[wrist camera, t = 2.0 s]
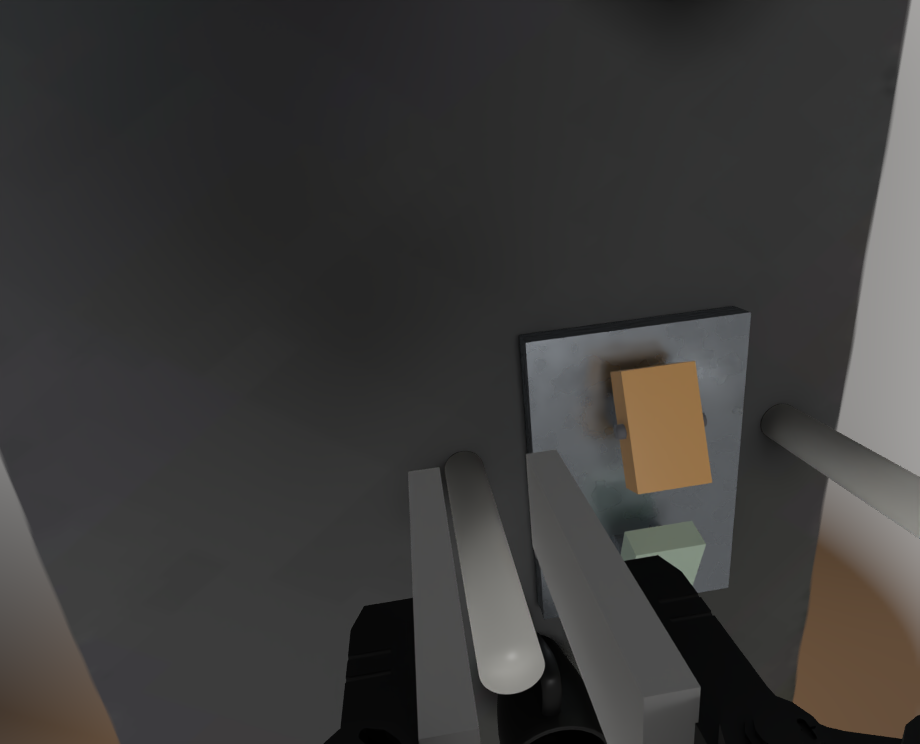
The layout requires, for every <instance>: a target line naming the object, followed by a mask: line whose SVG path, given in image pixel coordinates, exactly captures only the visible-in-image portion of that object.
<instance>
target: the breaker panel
mask: <svg viewBox="0 0 920 744" xmlns="http://www.w3.org/2000/svg"><path fill="white" fill-rule="evenodd" d="M750 319H751V312H749V311H746V310H743V309H740V308H738V307H735V306H732V307H724V308H717V309H709V310H702V311H695V312H687V313H680V314H672V315H665V316H657V317H650V318H643V319H635V320H628V321H620V322H613V323H605V324H598V325H591V326H583V327H576V328H568V329H561V330H553V331H546V332H538V333H531V334H524V335H519V339H520V353H521V367H522V381H523V396H524V410H525V424H526V438H527V452H528V454H530V453H536V452H543V451H549V450H557V452H558V453H559V455H560V457H561V458H562V460H563V461H564V463H565V465H566V466H567V468H568V470H569V471H570V473H571V475H572V476H573V478H574V480H575V481H576V483H577V484H578V486H579V488H580V489H581V491H582V493H583V494H584V496H585V498H586V499H587V501H588V503H589V504H590V506H591V507H592V509H593V511H594V512H595V514H596V516H597V517H598V519H599V521H600V522H601V524H602V526H603V527H604V529H605V530H606V532H607V534H608V535H609V537H610V539H611V540H612V542H613V544H614V545H615V547H616V549H617V550H618V552H619V554H620V555H621V549H622V543H623V538H624V532H626V531H632V530H638V529H644V528H650V527H656V526H663V525H669V524H675V523H681V522H687V521H692V522H693V523H694V525H695V527H696V528H697V530H698V531H699V533H700V535H701V536H702V538H703V540H704V541H705V543H706V546H705V549H704V552H703V555H702V558H701V562H700V565H699V570H698V572H697V574H696V577H695V580H694V583H693V587H694V589H695V590H696V591H697V593H699V592H705V591H711V590H717V589H722V588H728V584H729V572H730V560H731V548H732V536H733V524H734V512H735V500H736V488H737V476H738V464H739V452H740V440H741V428H742V416H743V403H744V391H745V379H746V367H747V355H748V343H749V331H750ZM687 361H695V363H696V370H697V377H698V384H699V391H700V399H701V406H702V412H703V413H704V414H705V415H706V418H707V425H706V427H705V434H706V441H707V449H708V456H709V463H710V470H711V477H712V483H708V484H701V485H695V486H689V487H682V488H676V489H670V490H663V491H657V492H651V493H645V494H636V493H634V492H633V491H631V490H629V489H627V488H626V483H625V475H624V468H623V461H622V454H621V447H620V440H617V439H616V438H615V435H614V430H613V429H614V425H617V418H616V411H615V404H614V397H613V389H612V382H611V375H610V372H613V371H620V370H627V369H634V368H641V367H648V366H655V365H662V364H669V363H676V362H687ZM534 552H535V551H534ZM535 566H536V580H537V594H538V603H539V606H540V609H541V612H542V615H543V618H544V619H549V618H555V617H559V615H558V612H557V610H556V607H555V604H554V602H553V599H552V596H551V594H550V591H549V588H548V586H547V583H546V580H545V578H544V575H543V572H542V570H541V567H540V565H539V562H538V559H537V557H536V554H535Z"/></svg>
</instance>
